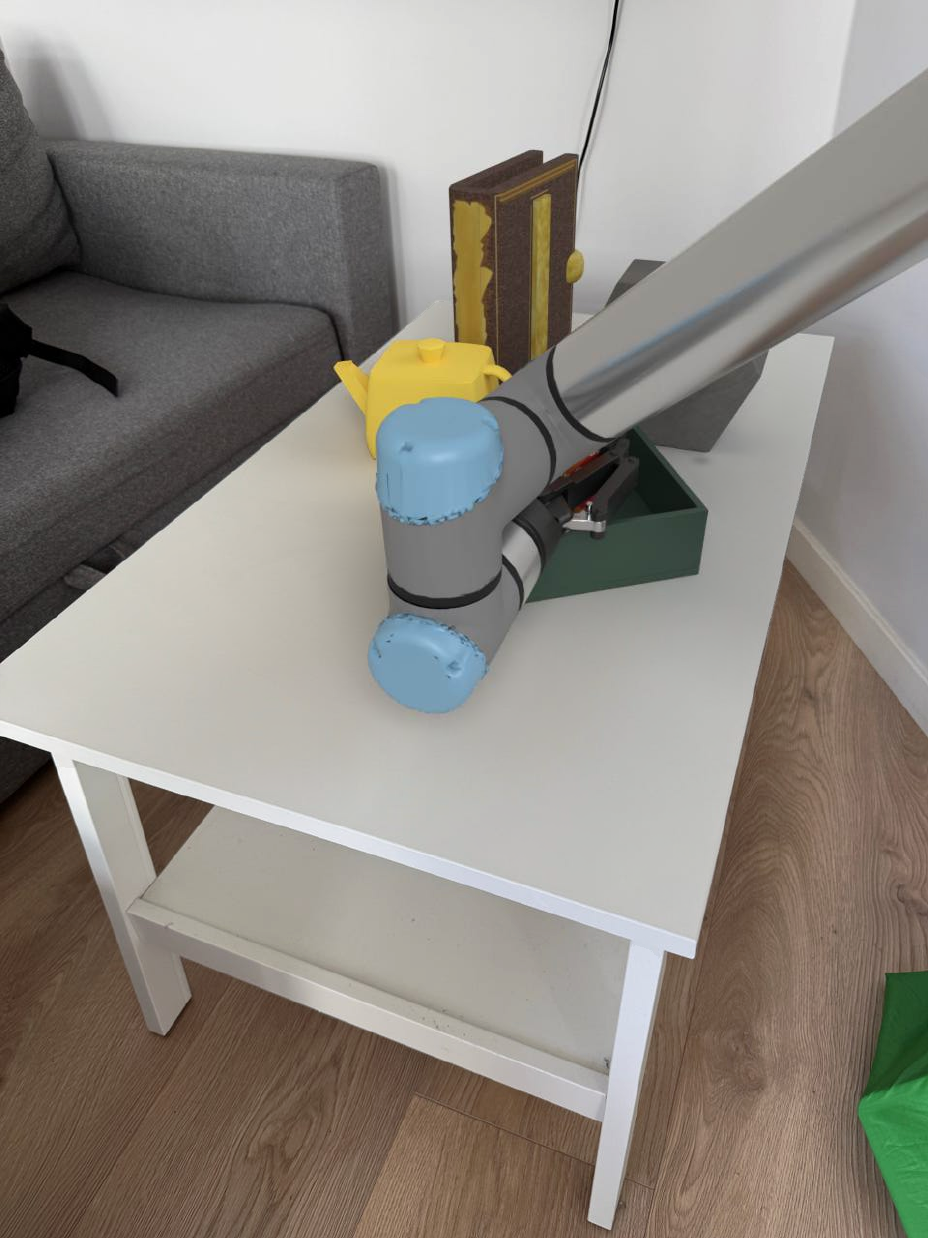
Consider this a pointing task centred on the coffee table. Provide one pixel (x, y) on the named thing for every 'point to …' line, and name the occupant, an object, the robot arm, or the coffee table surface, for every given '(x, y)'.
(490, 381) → the teapot
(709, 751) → the coffee table surface
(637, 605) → the coffee table surface
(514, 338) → the book
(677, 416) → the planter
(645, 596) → the coffee table surface
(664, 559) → the bin
